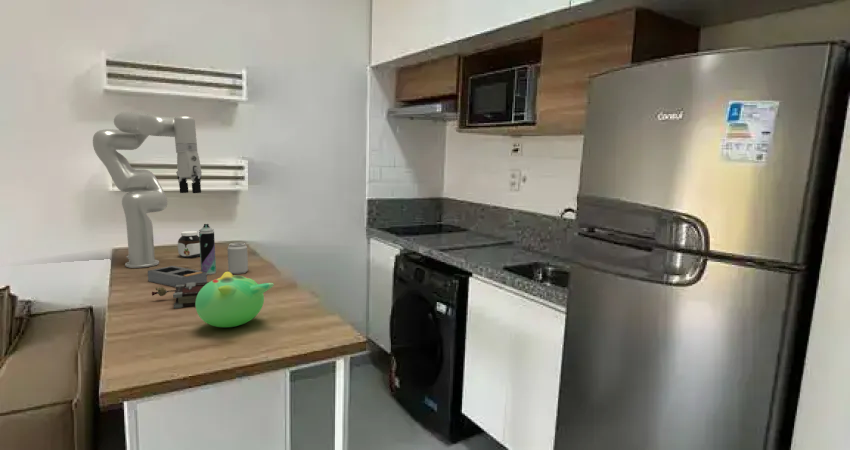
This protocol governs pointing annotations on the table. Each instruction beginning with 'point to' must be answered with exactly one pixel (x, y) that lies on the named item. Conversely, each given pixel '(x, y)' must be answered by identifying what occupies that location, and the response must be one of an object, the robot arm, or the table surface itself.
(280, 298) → the table surface
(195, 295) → the dark layered knobbed device
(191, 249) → the spread jar
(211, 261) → the spray can
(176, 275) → the grey rectangular grid frame
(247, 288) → the toy bird
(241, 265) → the can
